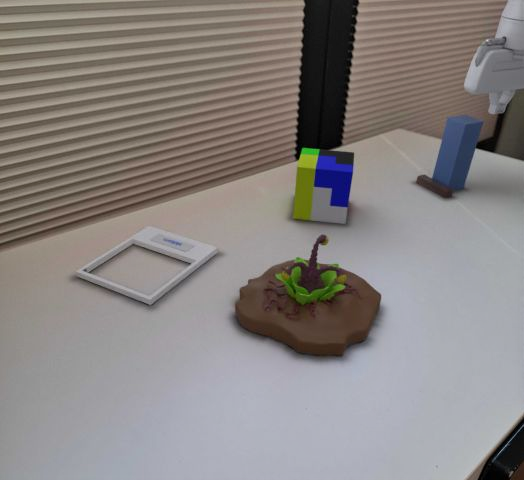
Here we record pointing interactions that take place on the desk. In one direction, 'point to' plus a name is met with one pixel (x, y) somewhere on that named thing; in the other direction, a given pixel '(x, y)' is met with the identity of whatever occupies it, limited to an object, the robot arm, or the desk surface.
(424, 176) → the bar
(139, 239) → the photo frame
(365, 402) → the desk surface
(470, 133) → the toy block
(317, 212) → the puzzle toy
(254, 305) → the plant
